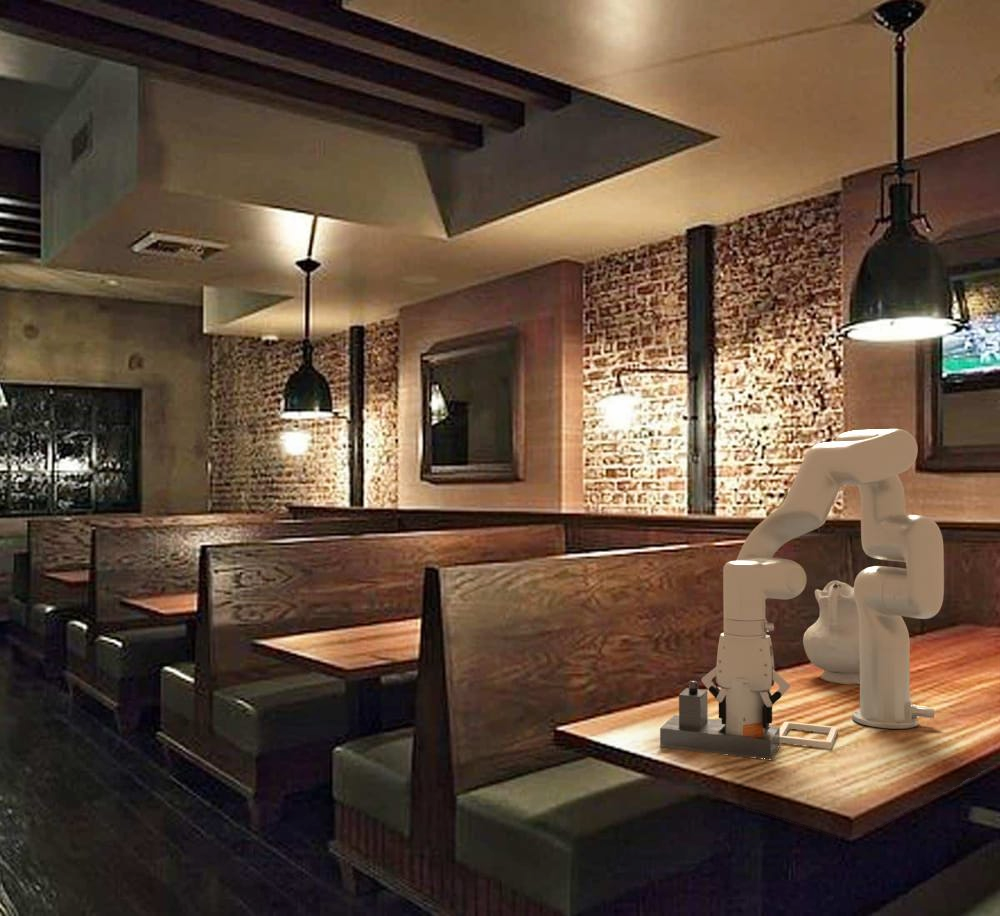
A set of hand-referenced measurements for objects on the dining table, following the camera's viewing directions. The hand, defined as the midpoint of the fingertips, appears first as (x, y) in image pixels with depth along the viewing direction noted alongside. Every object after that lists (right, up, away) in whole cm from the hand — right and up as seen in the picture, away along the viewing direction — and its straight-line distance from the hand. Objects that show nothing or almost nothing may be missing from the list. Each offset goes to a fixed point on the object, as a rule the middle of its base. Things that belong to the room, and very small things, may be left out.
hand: (745, 724), depth 177 cm
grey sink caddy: (-4, -5, +2) cm, 6 cm away
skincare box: (0, -3, 0) cm, 3 cm away
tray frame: (+14, -5, +7) cm, 16 cm away
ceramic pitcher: (+39, -6, +58) cm, 70 cm away
